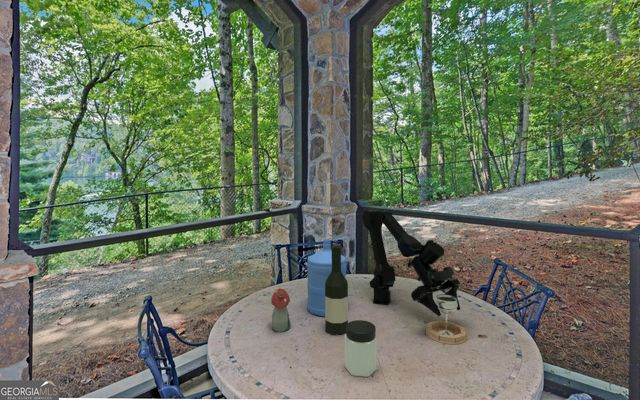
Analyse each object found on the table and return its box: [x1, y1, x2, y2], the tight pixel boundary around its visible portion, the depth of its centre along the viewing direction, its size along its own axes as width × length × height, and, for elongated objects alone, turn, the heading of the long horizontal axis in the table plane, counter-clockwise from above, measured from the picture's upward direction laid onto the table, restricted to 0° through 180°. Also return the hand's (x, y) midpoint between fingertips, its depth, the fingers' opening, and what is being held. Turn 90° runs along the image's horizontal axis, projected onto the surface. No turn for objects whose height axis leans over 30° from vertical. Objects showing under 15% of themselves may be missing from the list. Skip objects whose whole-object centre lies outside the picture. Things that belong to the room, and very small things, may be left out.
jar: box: [344, 319, 378, 378], centre depth 90 cm, size 9×8×12 cm
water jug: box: [306, 239, 348, 317], centre depth 130 cm, size 16×16×28 cm
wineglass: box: [435, 293, 459, 336], centre depth 109 cm, size 7×7×12 cm
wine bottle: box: [324, 243, 349, 336], centre depth 112 cm, size 8×8×30 cm
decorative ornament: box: [270, 288, 291, 333], centre depth 115 cm, size 9×6×15 cm
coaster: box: [425, 320, 468, 345], centre depth 109 cm, size 13×13×2 cm
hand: (449, 312), depth 108 cm, fingers open, 9 cm apart
